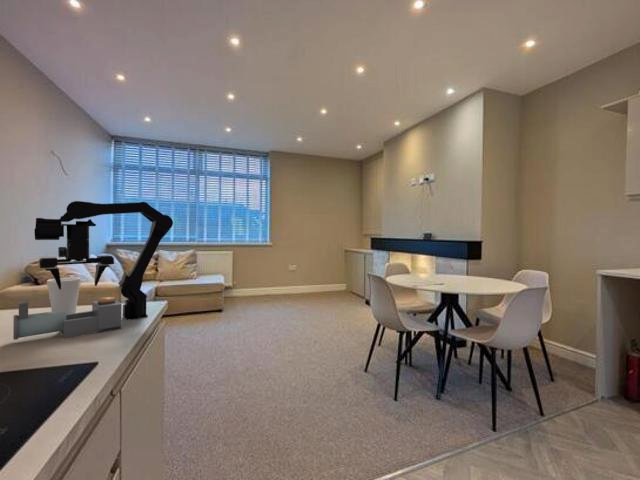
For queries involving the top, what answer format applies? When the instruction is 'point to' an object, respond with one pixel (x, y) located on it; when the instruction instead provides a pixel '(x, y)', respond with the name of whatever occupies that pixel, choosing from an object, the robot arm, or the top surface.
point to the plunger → (106, 300)
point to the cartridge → (37, 322)
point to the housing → (93, 320)
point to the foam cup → (64, 294)
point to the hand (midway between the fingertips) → (78, 287)
